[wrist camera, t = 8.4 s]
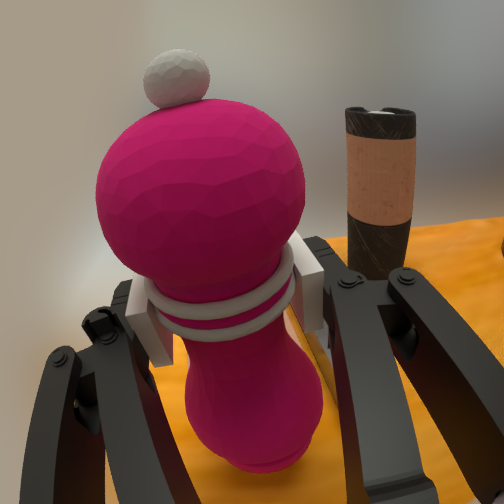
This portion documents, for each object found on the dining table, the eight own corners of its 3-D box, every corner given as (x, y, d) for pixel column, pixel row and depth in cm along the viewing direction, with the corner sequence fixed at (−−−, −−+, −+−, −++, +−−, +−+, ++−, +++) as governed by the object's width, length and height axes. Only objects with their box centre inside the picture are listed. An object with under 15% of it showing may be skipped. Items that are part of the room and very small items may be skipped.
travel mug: (381, 300, 32) (394, 116, 21) (333, 273, 37) (328, 109, 27) (413, 271, 35) (427, 112, 25) (368, 249, 41) (370, 105, 30)
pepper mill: (306, 377, 20) (278, 48, 10) (332, 466, 14) (365, 4, 3) (207, 395, 20) (96, 87, 9) (212, 487, 14) (-25, 106, 3)
